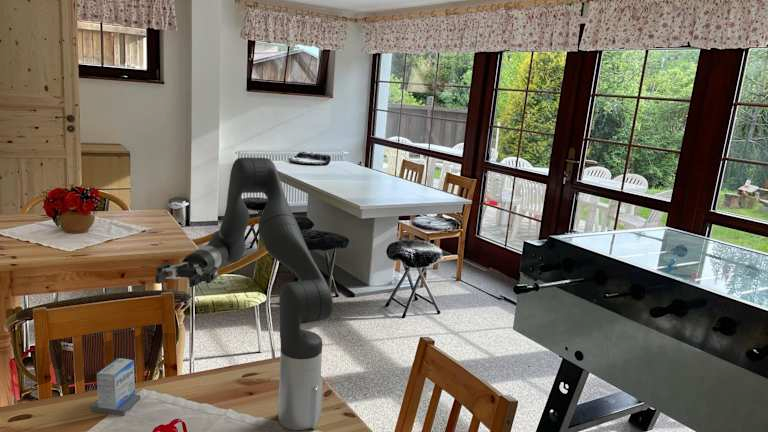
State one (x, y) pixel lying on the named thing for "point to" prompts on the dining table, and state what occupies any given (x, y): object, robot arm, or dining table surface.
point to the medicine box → (115, 383)
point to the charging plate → (122, 409)
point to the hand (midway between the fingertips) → (174, 281)
